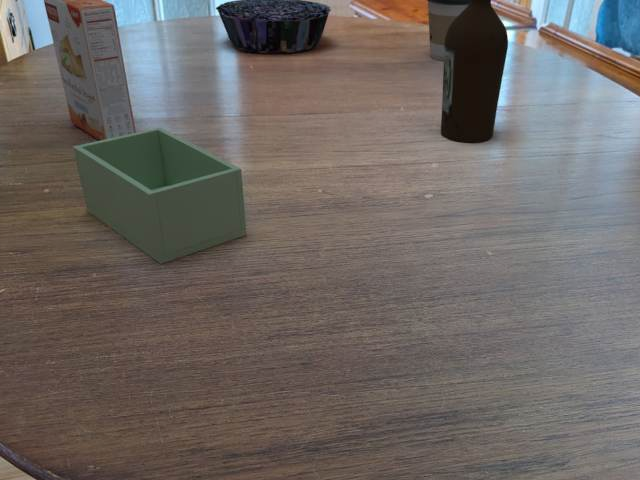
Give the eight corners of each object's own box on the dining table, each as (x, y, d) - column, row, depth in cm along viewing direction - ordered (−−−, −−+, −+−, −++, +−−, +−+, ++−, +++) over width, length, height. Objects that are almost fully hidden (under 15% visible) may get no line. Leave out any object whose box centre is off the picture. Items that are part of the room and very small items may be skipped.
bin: (160, 264, 88) (149, 194, 83) (87, 211, 99) (72, 146, 94) (246, 235, 95) (241, 168, 90) (169, 188, 106) (160, 127, 101)
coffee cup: (421, 50, 179) (426, -18, 170) (467, 52, 179) (474, -16, 170) (422, 62, 170) (426, -10, 161) (470, 64, 170) (477, -7, 161)
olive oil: (492, 125, 135) (511, -27, 120) (499, 145, 126) (521, -16, 111) (435, 123, 135) (447, -29, 120) (439, 143, 126) (452, -18, 111)
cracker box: (69, 124, 127) (39, -10, 114) (102, 118, 130) (77, -13, 117) (104, 147, 118) (76, 6, 106) (138, 140, 122) (115, 2, 109)
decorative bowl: (222, 40, 187) (215, -3, 181) (327, 31, 191) (324, -11, 185) (222, 65, 167) (215, 19, 161) (340, 55, 171) (337, 9, 165)
